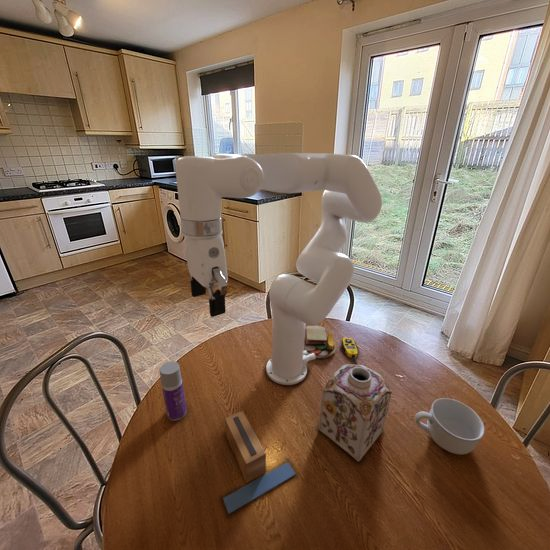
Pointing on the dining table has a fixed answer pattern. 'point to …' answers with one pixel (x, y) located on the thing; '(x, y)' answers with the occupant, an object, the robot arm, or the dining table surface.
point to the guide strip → (258, 487)
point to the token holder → (245, 446)
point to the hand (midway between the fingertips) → (207, 304)
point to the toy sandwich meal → (318, 342)
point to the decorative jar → (354, 408)
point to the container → (173, 390)
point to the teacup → (452, 425)
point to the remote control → (350, 348)
